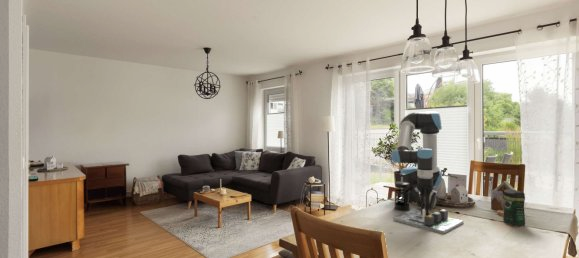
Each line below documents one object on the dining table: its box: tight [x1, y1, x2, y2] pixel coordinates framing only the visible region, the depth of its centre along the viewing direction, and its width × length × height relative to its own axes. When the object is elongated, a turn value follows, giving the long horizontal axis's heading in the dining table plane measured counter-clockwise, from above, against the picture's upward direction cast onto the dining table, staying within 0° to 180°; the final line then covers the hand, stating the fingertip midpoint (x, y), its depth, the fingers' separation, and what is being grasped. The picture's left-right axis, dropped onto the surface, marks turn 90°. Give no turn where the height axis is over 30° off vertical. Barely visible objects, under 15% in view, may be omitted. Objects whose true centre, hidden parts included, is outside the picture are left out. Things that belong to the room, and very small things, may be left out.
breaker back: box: [438, 208, 449, 219], centre depth 169 cm, size 4×3×4 cm
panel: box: [393, 209, 464, 235], centre depth 168 cm, size 24×28×2 cm
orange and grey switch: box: [424, 215, 434, 225], centre depth 159 cm, size 4×3×4 cm
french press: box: [393, 172, 411, 212], centre depth 193 cm, size 12×9×23 cm
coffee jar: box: [502, 188, 526, 227], centre depth 163 cm, size 10×8×19 cm
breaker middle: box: [431, 211, 441, 222], centre depth 164 cm, size 4×3×4 cm
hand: (425, 220), depth 161 cm, fingers closed
